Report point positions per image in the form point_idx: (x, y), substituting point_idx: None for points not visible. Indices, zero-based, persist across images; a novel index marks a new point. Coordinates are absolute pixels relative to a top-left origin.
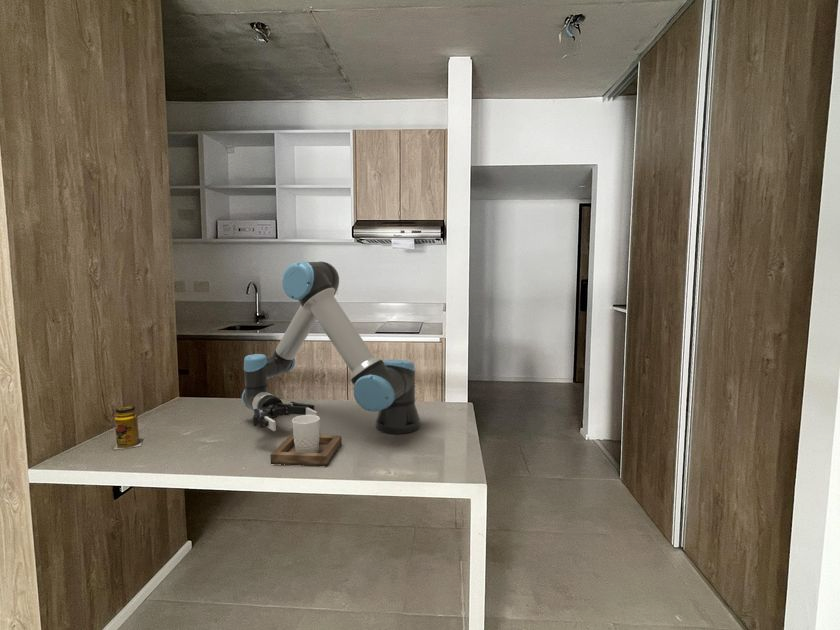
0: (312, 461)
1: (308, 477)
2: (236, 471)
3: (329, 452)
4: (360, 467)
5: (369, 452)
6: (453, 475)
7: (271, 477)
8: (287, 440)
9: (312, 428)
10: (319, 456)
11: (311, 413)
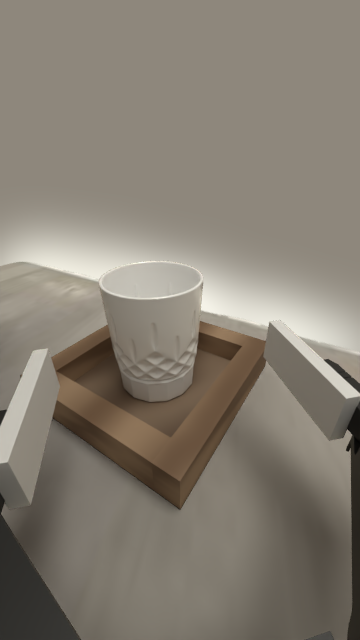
0: None
1: None
2: (352, 366)
3: None
4: (94, 307)
5: (23, 341)
6: (18, 270)
7: (258, 325)
8: (210, 412)
9: (147, 280)
10: None
11: (41, 395)
